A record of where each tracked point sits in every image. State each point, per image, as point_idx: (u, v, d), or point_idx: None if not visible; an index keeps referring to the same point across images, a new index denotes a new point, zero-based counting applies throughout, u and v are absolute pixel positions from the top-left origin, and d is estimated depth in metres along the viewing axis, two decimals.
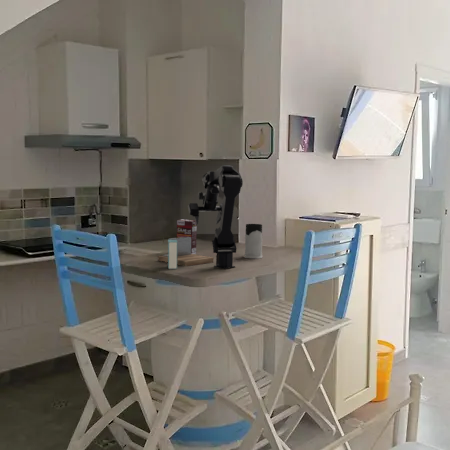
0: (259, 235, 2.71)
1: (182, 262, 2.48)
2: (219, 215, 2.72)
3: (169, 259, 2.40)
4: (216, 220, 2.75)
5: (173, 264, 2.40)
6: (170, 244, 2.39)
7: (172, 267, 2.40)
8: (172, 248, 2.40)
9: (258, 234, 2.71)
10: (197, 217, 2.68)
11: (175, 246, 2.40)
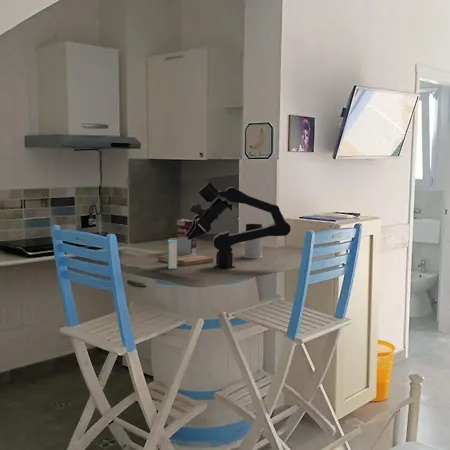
0: None
1: (182, 262, 2.48)
2: None
3: (169, 259, 2.40)
4: (189, 233, 2.48)
5: (173, 264, 2.40)
6: (170, 244, 2.39)
7: (172, 267, 2.40)
8: (172, 248, 2.40)
9: None
10: (203, 233, 2.38)
11: (175, 246, 2.40)
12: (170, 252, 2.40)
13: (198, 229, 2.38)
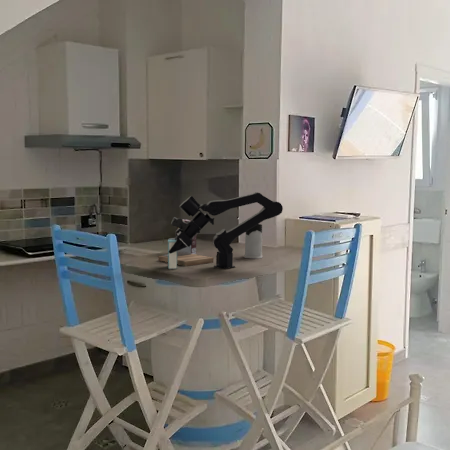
0: (259, 235, 2.71)
1: (182, 262, 2.48)
2: None
3: (169, 259, 2.40)
4: None
5: (173, 264, 2.40)
6: (170, 244, 2.39)
7: (172, 267, 2.40)
8: None
9: (258, 234, 2.71)
10: None
11: None
12: None
13: (179, 243, 2.38)
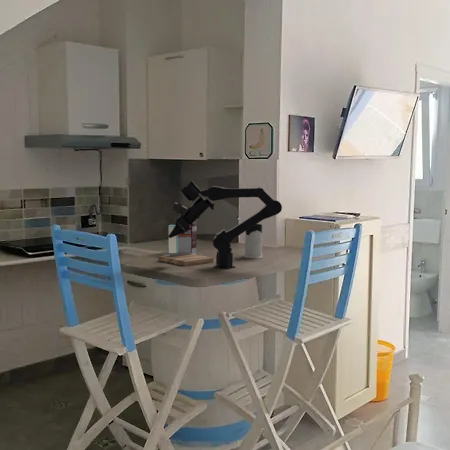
0: (259, 235, 2.71)
1: (182, 262, 2.48)
2: None
3: (169, 243, 2.42)
4: None
5: (173, 248, 2.42)
6: (170, 229, 2.41)
7: (172, 251, 2.42)
8: None
9: (258, 234, 2.71)
10: (183, 232, 2.40)
11: None
12: None
13: (178, 227, 2.40)
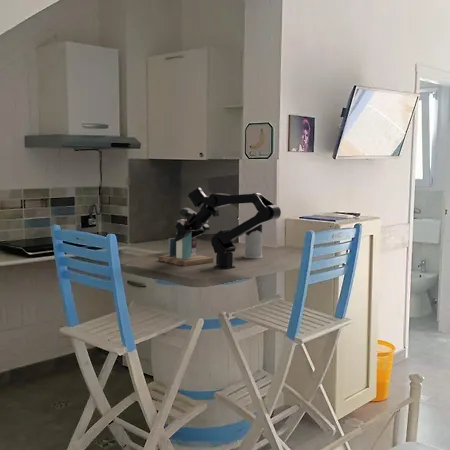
0: (259, 235, 2.71)
1: (182, 262, 2.48)
2: (196, 232, 2.58)
3: (176, 249, 2.54)
4: None
5: (179, 254, 2.54)
6: None
7: (178, 257, 2.54)
8: None
9: (258, 234, 2.71)
10: None
11: None
12: (177, 242, 2.54)
13: (181, 232, 2.49)
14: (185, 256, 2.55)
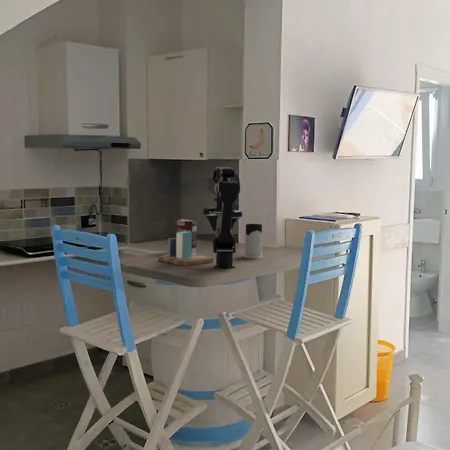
0: (259, 235, 2.71)
1: (182, 262, 2.48)
2: None
3: (176, 249, 2.54)
4: None
5: (179, 254, 2.54)
6: (177, 235, 2.53)
7: (178, 257, 2.54)
8: (179, 239, 2.53)
9: (258, 234, 2.71)
10: (209, 218, 2.59)
11: (181, 237, 2.53)
12: (177, 242, 2.54)
13: None
14: (185, 256, 2.55)
